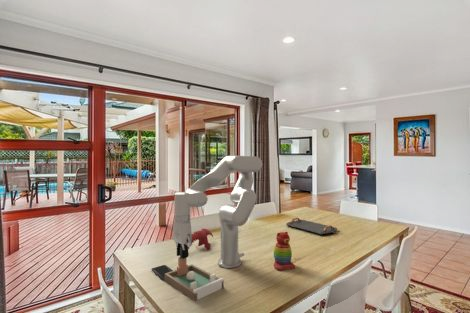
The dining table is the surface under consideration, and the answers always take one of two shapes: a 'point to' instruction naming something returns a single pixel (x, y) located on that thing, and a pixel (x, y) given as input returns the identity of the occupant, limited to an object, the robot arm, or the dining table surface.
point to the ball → (190, 275)
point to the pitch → (195, 282)
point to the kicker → (182, 264)
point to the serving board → (311, 226)
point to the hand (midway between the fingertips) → (182, 256)
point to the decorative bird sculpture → (202, 238)
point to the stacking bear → (283, 252)
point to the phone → (161, 271)
